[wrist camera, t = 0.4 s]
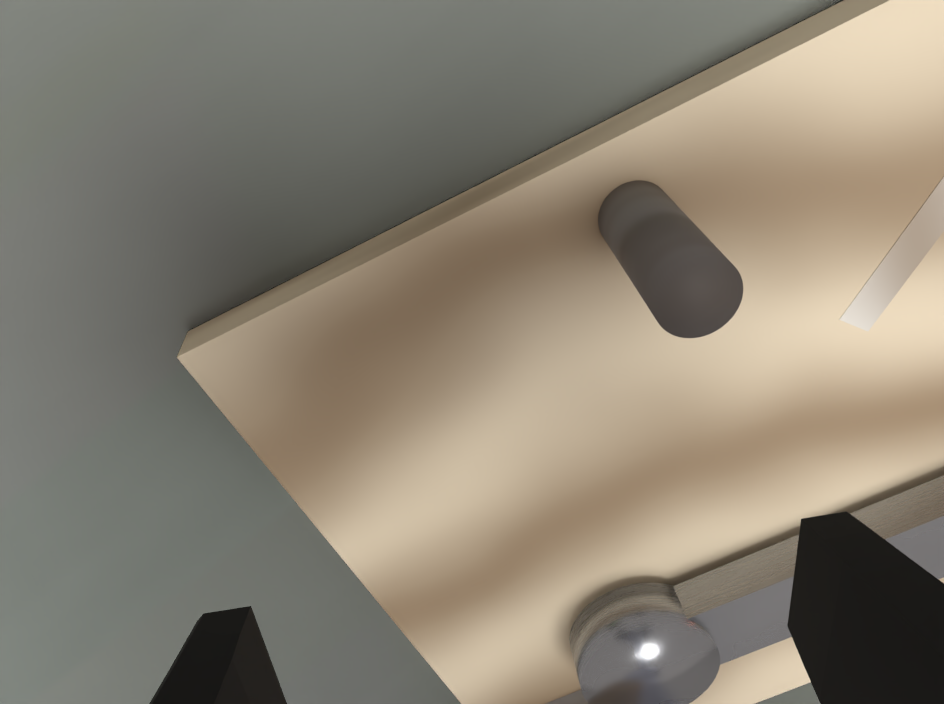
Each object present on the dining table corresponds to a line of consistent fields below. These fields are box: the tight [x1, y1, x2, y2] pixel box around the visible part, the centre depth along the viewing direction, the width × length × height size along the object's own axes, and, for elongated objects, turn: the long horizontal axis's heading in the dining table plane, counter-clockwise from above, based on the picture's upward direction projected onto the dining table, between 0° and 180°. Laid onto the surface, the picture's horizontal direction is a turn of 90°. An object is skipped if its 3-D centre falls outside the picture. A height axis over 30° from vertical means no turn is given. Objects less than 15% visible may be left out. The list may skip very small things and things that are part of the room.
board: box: [177, 0, 944, 704], centre depth 20 cm, size 20×22×5 cm
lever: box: [569, 475, 944, 704], centre depth 20 cm, size 16×4×6 cm, turn 116°
